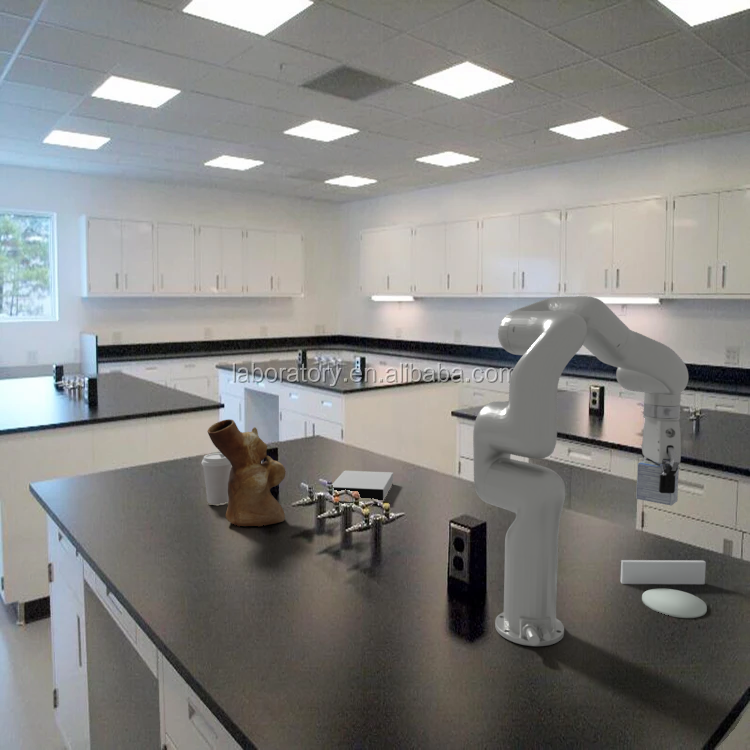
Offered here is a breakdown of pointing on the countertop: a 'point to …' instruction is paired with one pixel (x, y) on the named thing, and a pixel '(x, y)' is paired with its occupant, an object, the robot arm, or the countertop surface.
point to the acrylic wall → (663, 572)
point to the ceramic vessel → (248, 476)
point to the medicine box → (653, 484)
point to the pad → (674, 603)
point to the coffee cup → (216, 477)
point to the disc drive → (365, 483)
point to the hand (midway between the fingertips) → (657, 486)
